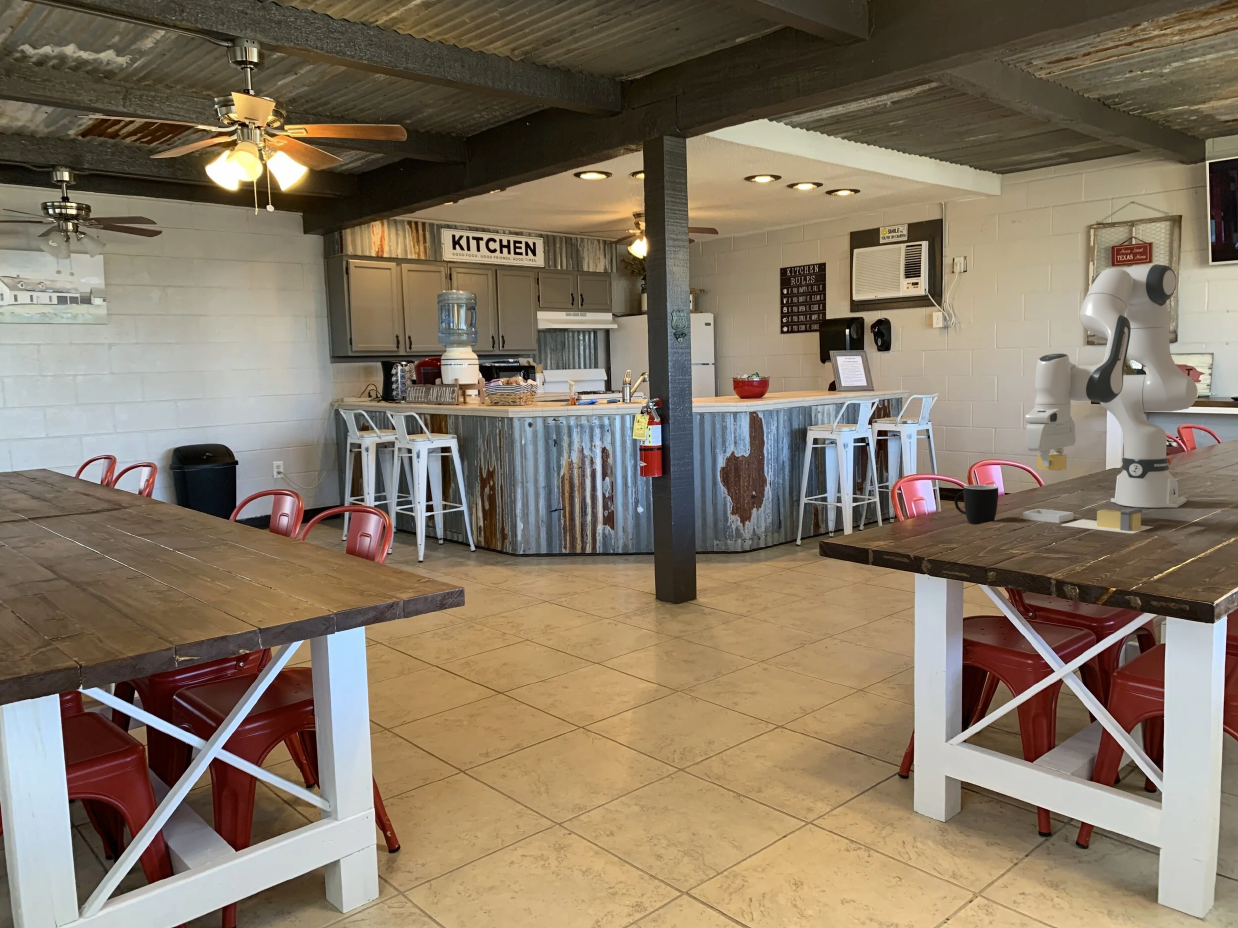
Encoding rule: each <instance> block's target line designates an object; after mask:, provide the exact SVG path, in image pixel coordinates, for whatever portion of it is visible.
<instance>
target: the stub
mask: <svg viewBox="0 0 1238 928" xmlns="http://www.w3.org/2000/svg"><path fill="white" fill-rule="evenodd" d="M1036 456H1037V457H1036V459H1037V460H1036V461H1037V463H1036V464H1037V465H1036V467H1037V468H1036V469H1037V470H1041V471H1055V472H1058V471H1066V470H1067V454H1064V453H1063V454H1054V453H1050V454H1049V458H1050V460H1051V466H1048V467H1046V466H1042V459H1041V456H1040V453H1039V454H1036Z"/></svg>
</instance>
